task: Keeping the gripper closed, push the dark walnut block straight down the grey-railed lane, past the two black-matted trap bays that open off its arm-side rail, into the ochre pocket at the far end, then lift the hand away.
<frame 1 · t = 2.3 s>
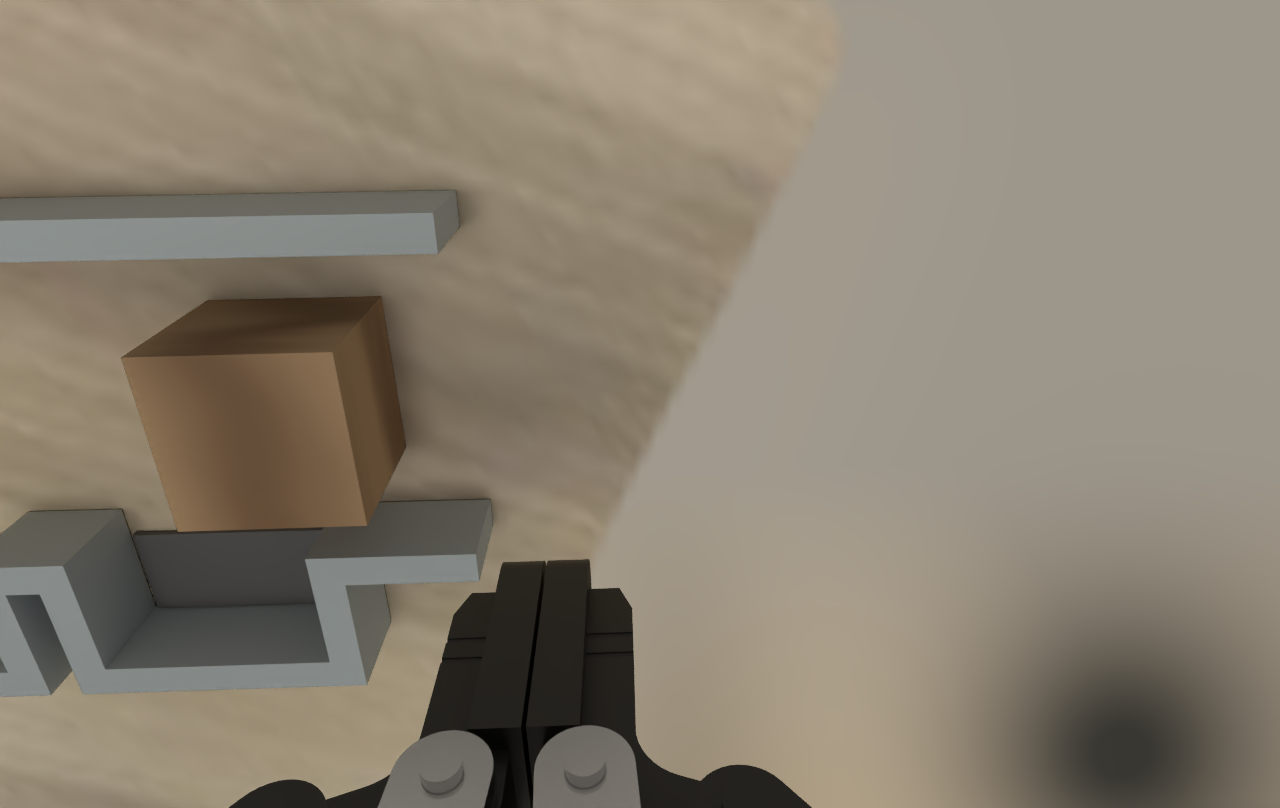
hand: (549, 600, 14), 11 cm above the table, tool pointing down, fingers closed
walnut block: (312, 375, 24), on the table
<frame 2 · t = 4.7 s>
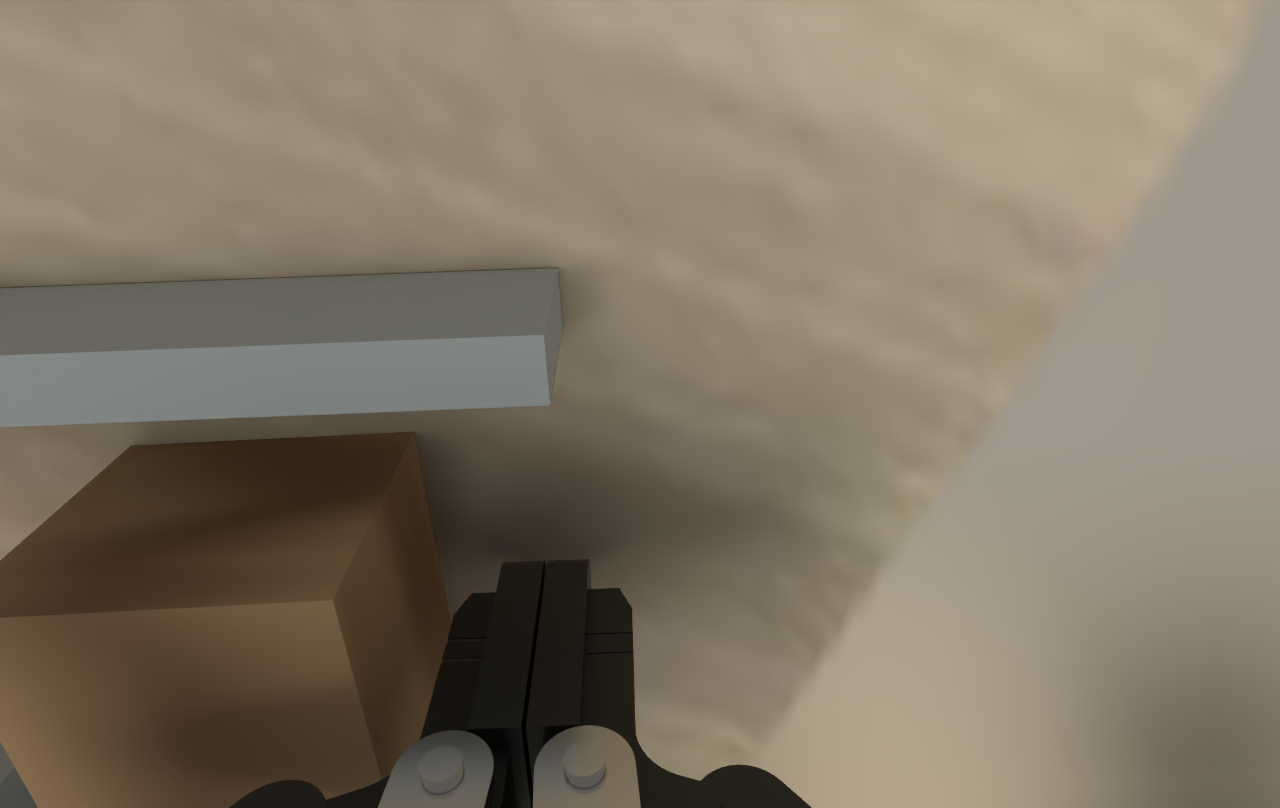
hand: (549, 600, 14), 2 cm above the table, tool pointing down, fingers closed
walnut block: (305, 552, 15), on the table, touching gripper
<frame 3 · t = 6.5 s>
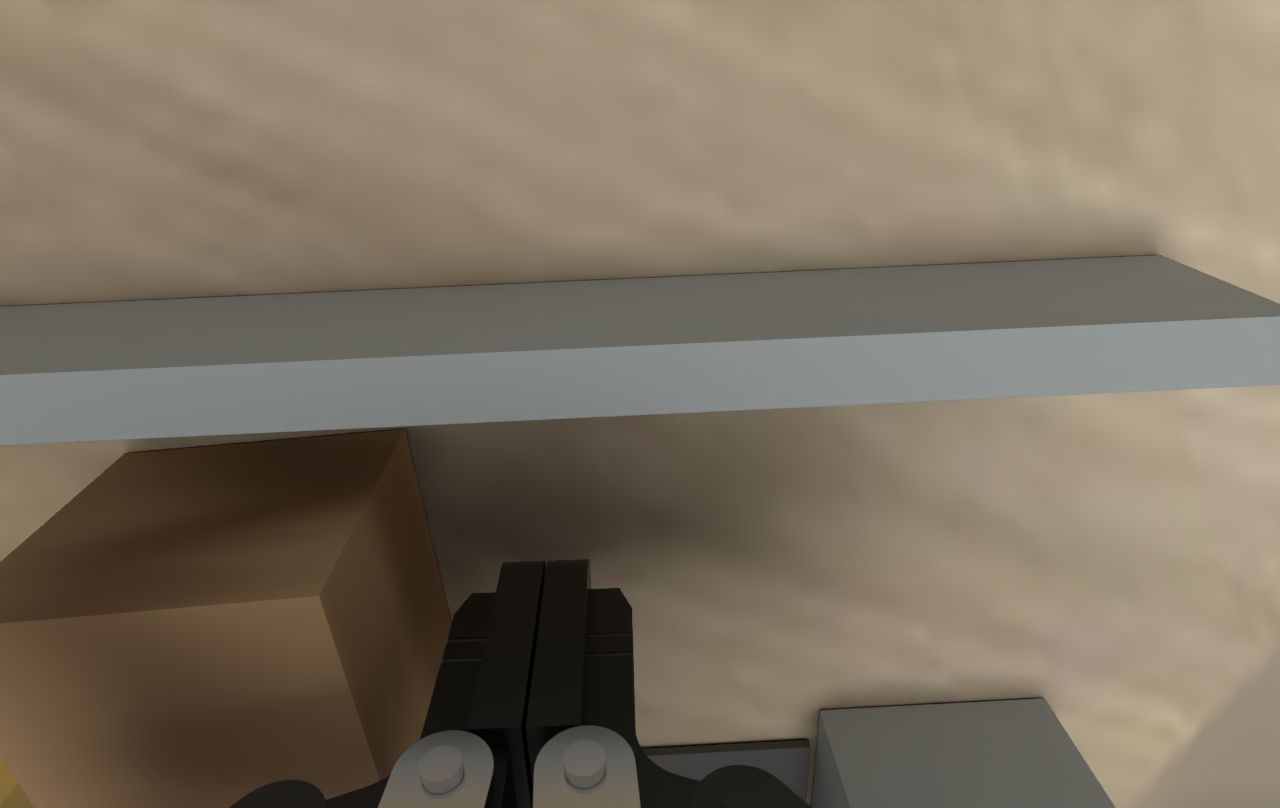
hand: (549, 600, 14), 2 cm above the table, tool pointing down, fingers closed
walnut block: (302, 555, 15), on the table, touching gripper
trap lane: (320, 568, 15), on the table
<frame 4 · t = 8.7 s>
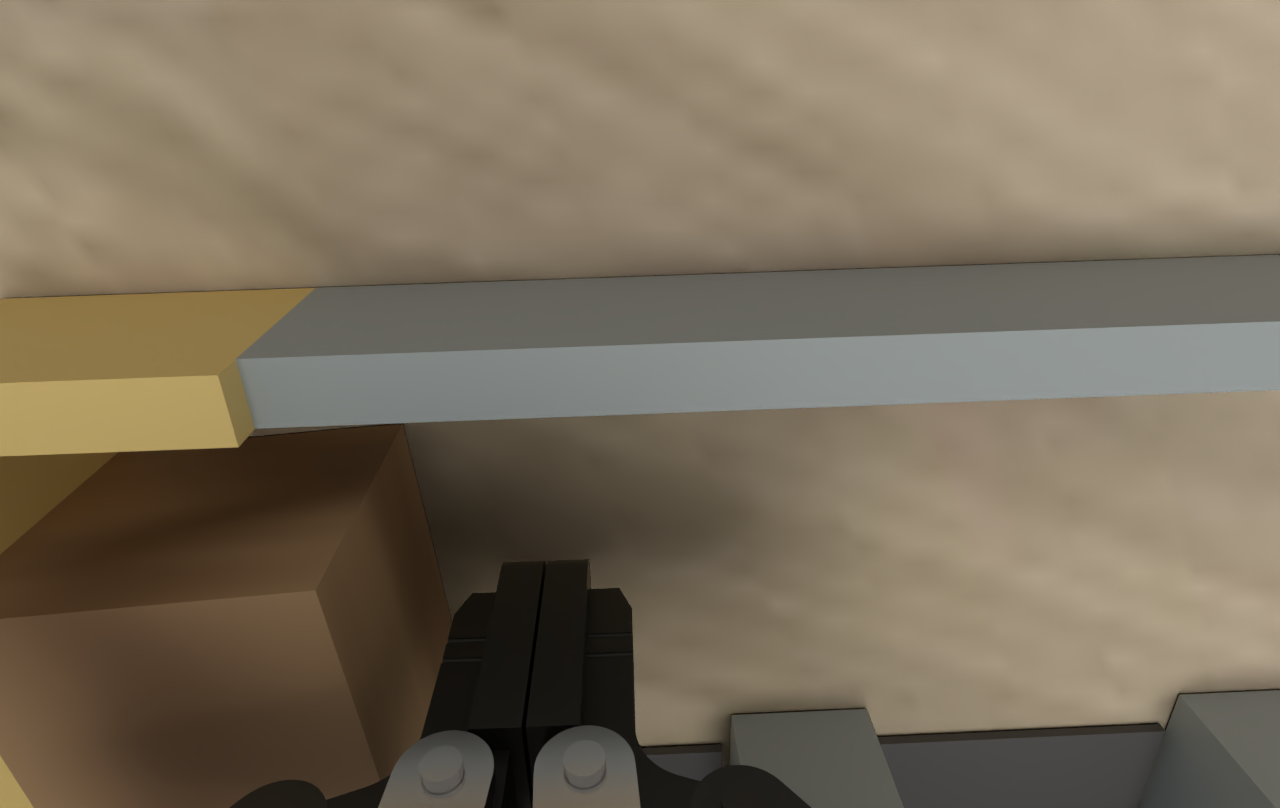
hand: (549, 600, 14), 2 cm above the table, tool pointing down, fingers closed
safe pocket: (323, 565, 15), on the table
walnut block: (301, 551, 15), on the table, touching gripper, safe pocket
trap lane: (737, 547, 15), on the table
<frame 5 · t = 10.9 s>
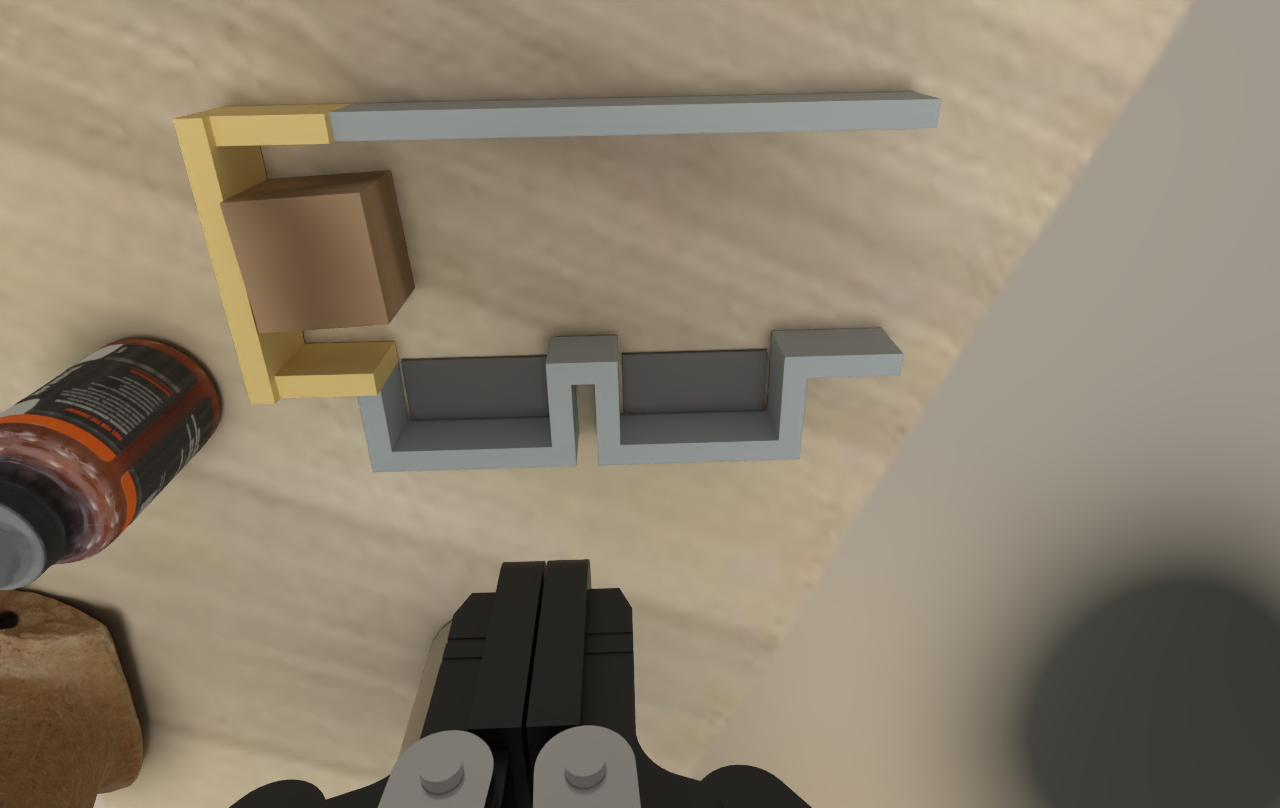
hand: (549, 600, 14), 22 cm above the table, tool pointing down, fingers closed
tan boot vase: (76, 677, 44), on the table
supplement bottle: (160, 392, 36), on the table
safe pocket: (353, 242, 33), on the table
walnut block: (344, 234, 33), on the table
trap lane: (543, 238, 33), on the table
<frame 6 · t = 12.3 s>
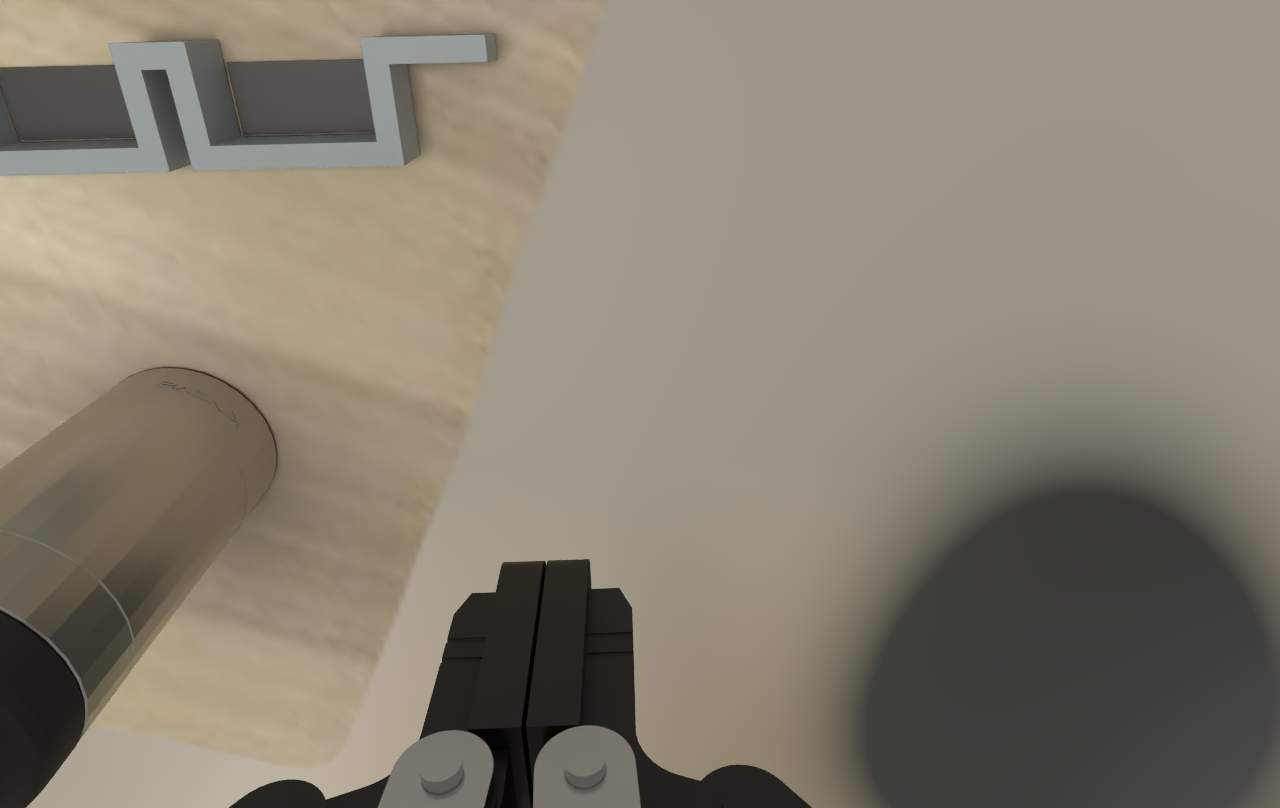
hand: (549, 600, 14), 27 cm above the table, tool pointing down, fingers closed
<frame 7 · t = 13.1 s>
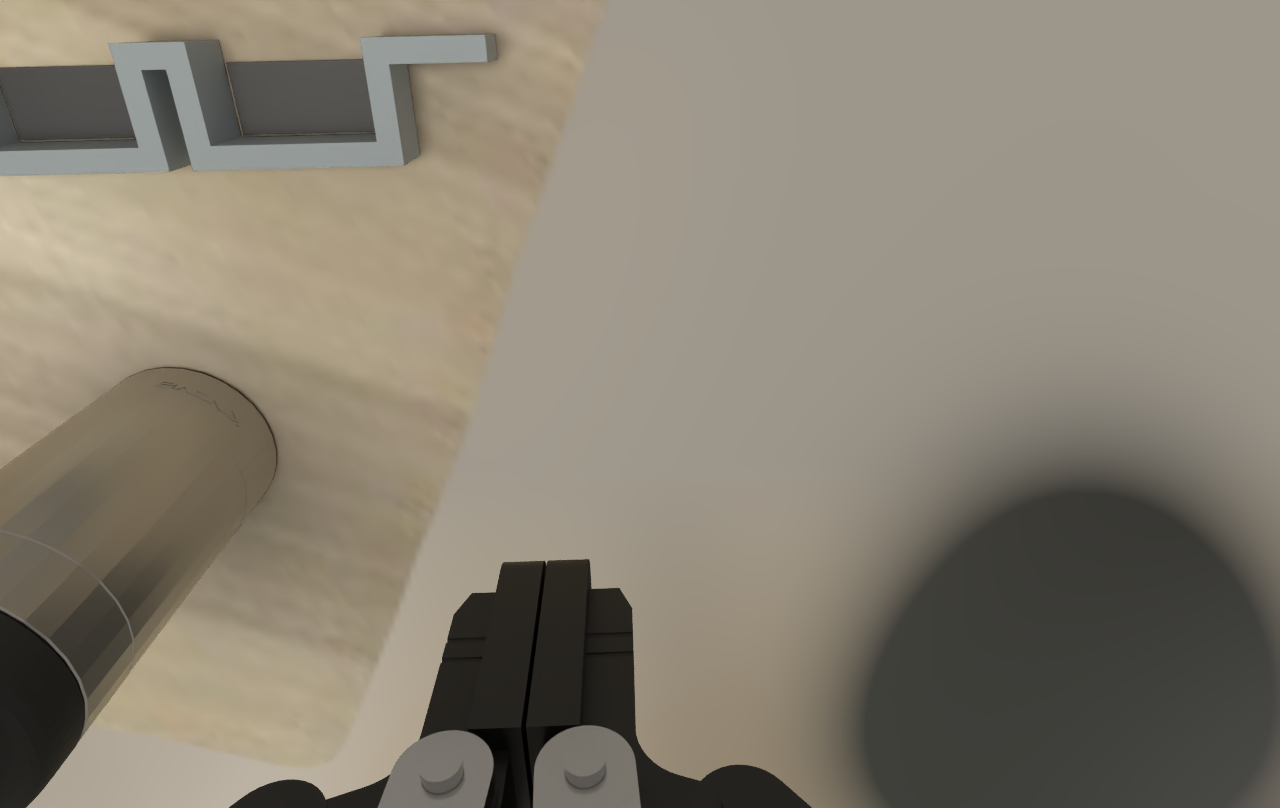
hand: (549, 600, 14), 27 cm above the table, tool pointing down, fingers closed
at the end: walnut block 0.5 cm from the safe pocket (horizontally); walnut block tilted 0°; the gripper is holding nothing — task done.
